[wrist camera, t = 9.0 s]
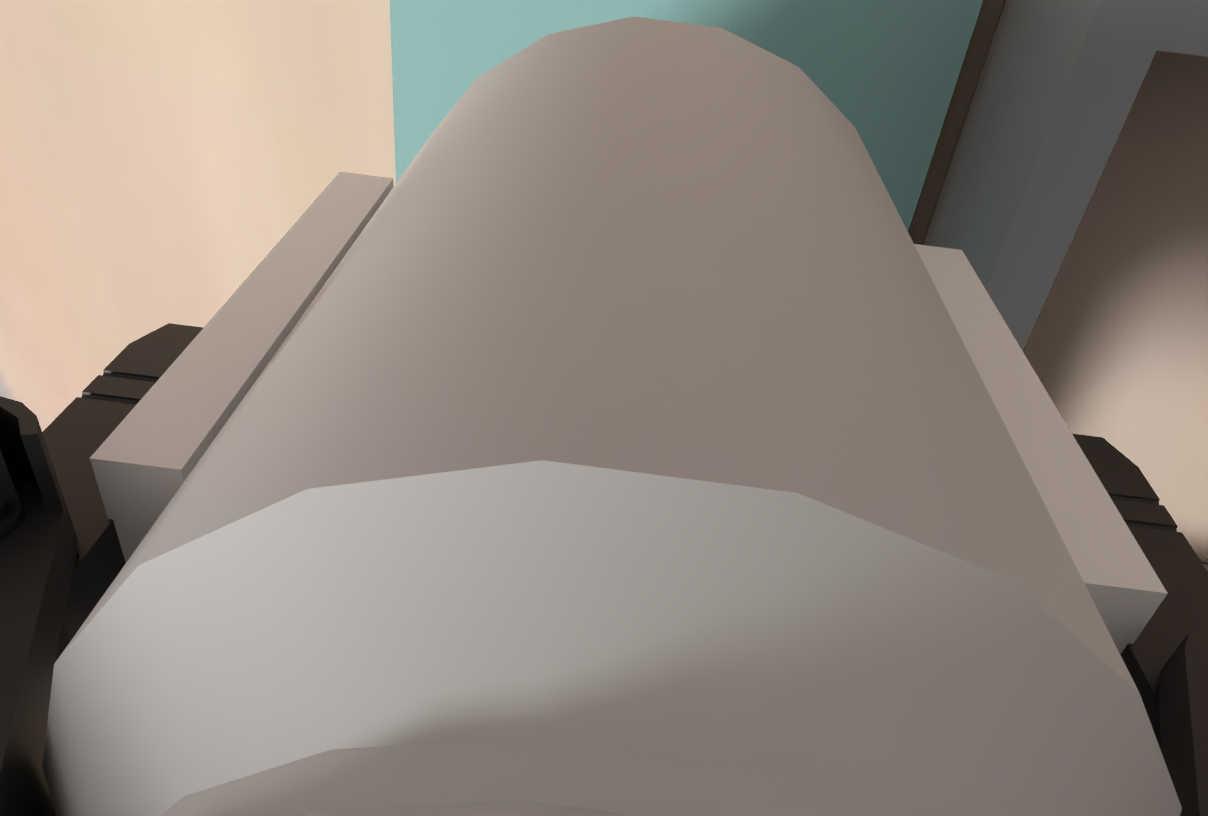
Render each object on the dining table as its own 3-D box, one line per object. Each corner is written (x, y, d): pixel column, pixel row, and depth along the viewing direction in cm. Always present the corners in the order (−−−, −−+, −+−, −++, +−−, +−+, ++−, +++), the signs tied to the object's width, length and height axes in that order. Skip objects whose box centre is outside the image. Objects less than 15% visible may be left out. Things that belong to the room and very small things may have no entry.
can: (453, 431, 17) (145, 1303, 7) (376, 13, 13) (-625, 773, 3) (850, 432, 16) (1100, 1393, 7) (911, -9, 12) (1875, 877, 2)
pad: (1000, -79, 14) (1007, -75, 14) (842, 416, 20) (844, 426, 20) (391, -156, 14) (384, -154, 14) (407, 360, 20) (402, 369, 20)
